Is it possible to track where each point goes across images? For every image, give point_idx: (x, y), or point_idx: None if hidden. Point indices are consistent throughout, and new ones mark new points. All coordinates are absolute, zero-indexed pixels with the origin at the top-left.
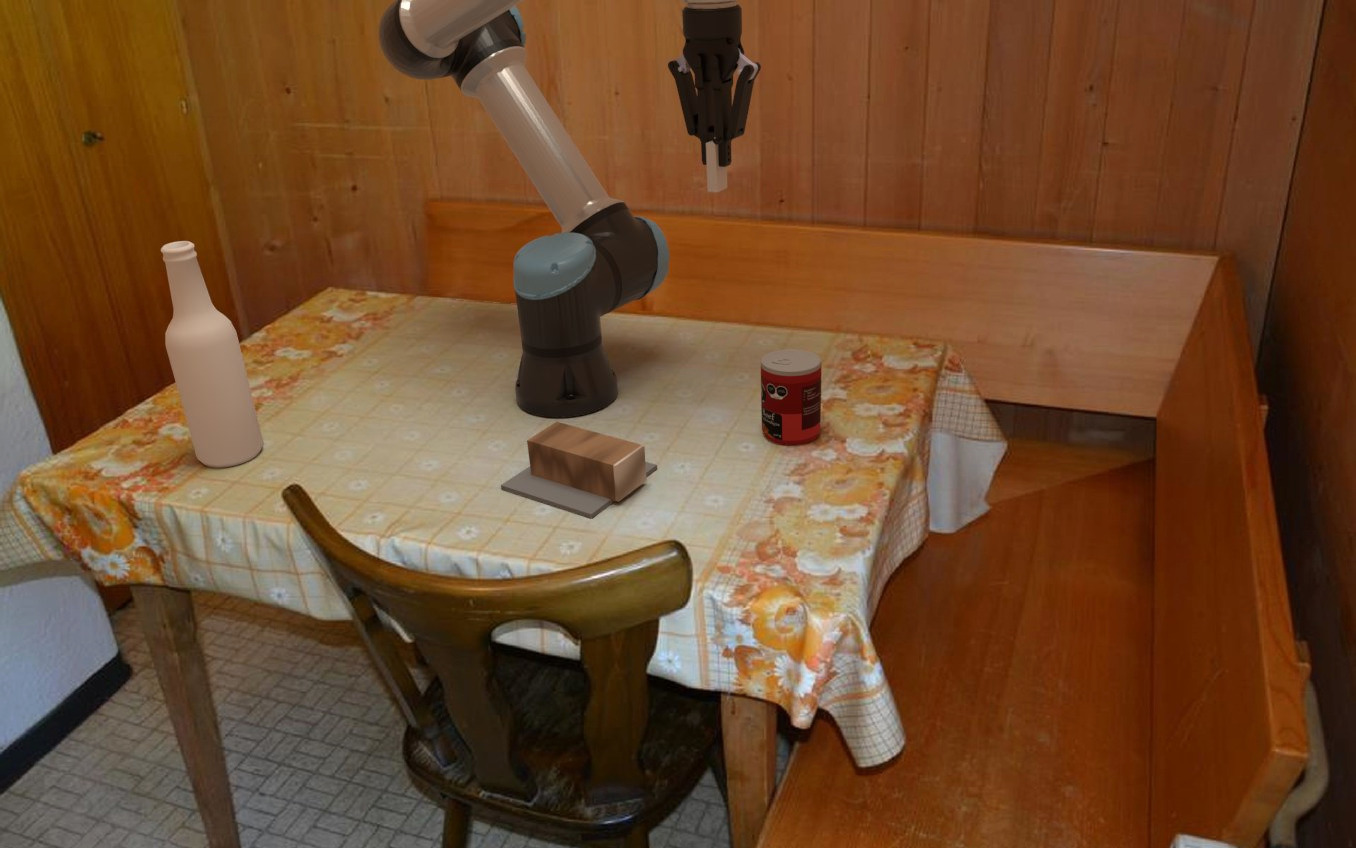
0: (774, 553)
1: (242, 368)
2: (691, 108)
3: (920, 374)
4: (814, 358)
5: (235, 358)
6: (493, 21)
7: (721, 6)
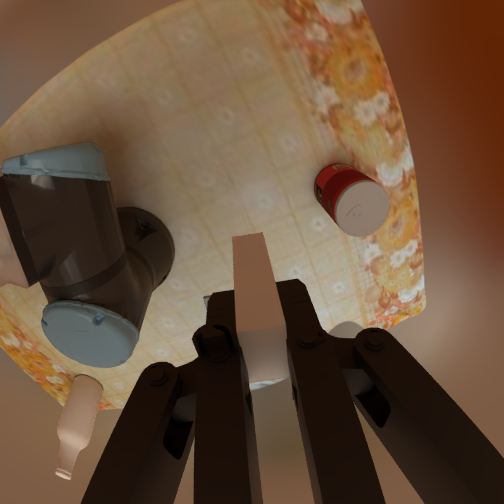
0: (388, 301)
1: (82, 416)
2: (170, 487)
3: (365, 27)
4: (380, 192)
5: (84, 424)
6: None
7: None
